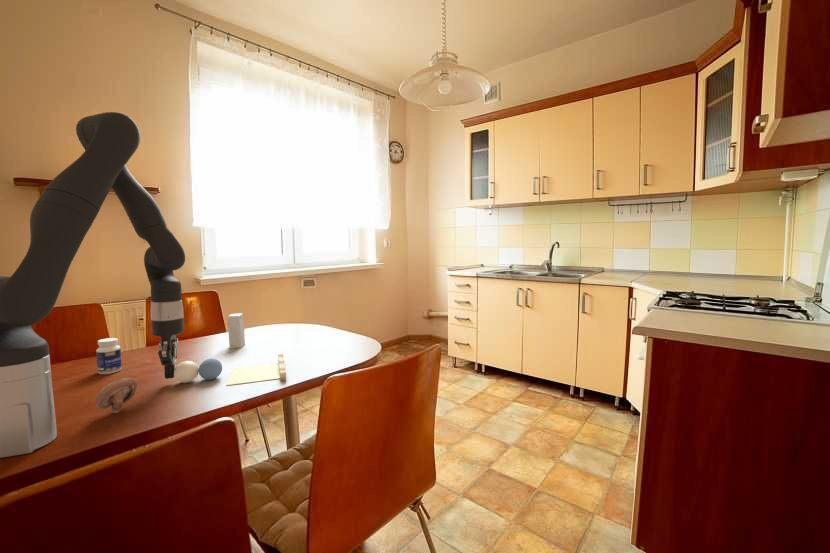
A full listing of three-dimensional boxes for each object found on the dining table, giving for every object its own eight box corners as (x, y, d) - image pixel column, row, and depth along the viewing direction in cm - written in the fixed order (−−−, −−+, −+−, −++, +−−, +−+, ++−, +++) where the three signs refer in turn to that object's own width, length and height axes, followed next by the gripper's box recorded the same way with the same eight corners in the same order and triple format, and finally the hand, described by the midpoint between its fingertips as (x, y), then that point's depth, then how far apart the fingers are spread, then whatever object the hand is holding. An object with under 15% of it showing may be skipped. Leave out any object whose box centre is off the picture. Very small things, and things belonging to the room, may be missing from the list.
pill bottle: (108, 375, 108) (105, 342, 107) (92, 374, 109) (89, 341, 108) (126, 368, 114) (124, 337, 113) (112, 367, 115) (109, 336, 114)
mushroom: (96, 422, 81) (93, 387, 80) (97, 412, 86) (94, 379, 85) (139, 411, 86) (137, 378, 85) (137, 402, 90) (135, 371, 90)
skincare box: (241, 347, 137) (240, 316, 135) (228, 348, 136) (227, 316, 134) (245, 343, 143) (244, 312, 141) (232, 343, 142) (231, 313, 140)
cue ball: (177, 389, 100) (200, 380, 102) (167, 371, 99) (191, 361, 101) (181, 381, 106) (203, 372, 108) (172, 363, 104) (194, 354, 106)
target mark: (280, 378, 107) (280, 378, 107) (226, 385, 101) (226, 385, 101) (278, 363, 120) (278, 363, 120) (230, 369, 114) (230, 368, 114)
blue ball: (220, 382, 104) (221, 361, 104) (196, 383, 102) (197, 362, 102) (222, 375, 110) (223, 355, 110) (199, 376, 108) (200, 356, 107)
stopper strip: (285, 380, 105) (285, 372, 105) (280, 381, 105) (280, 372, 105) (283, 361, 122) (283, 353, 122) (278, 361, 121) (278, 354, 121)
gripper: (179, 320, 96) (181, 384, 98) (187, 311, 108) (189, 368, 110) (144, 322, 93) (147, 388, 95) (156, 313, 105) (159, 371, 107)
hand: (170, 377), depth 103 cm, fingers closed
